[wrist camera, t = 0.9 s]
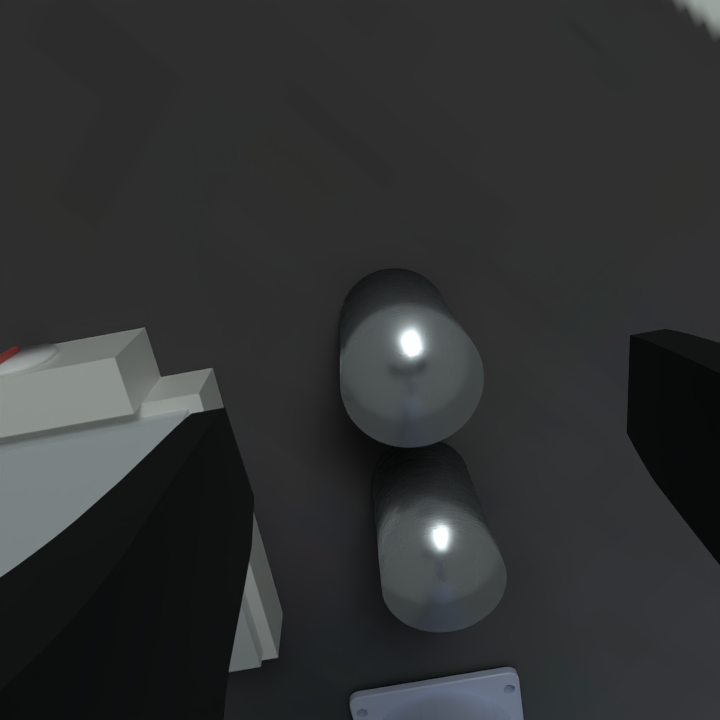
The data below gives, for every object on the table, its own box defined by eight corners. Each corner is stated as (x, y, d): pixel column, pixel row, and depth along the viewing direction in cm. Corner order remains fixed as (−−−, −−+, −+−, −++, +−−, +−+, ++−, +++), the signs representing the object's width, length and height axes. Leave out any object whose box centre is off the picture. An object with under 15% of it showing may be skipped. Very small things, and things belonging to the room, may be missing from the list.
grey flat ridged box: (282, 613, 27) (276, 674, 24) (23, 657, 27) (-17, 722, 24) (195, 307, 22) (172, 335, 19) (-122, 366, 22) (-195, 402, 19)
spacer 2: (473, 514, 25) (512, 621, 20) (380, 530, 25) (392, 641, 20) (462, 430, 24) (500, 520, 18) (363, 448, 24) (371, 542, 18)
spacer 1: (453, 361, 23) (490, 434, 17) (350, 380, 23) (354, 458, 17) (439, 259, 22) (475, 301, 16) (330, 279, 22) (327, 328, 16)
